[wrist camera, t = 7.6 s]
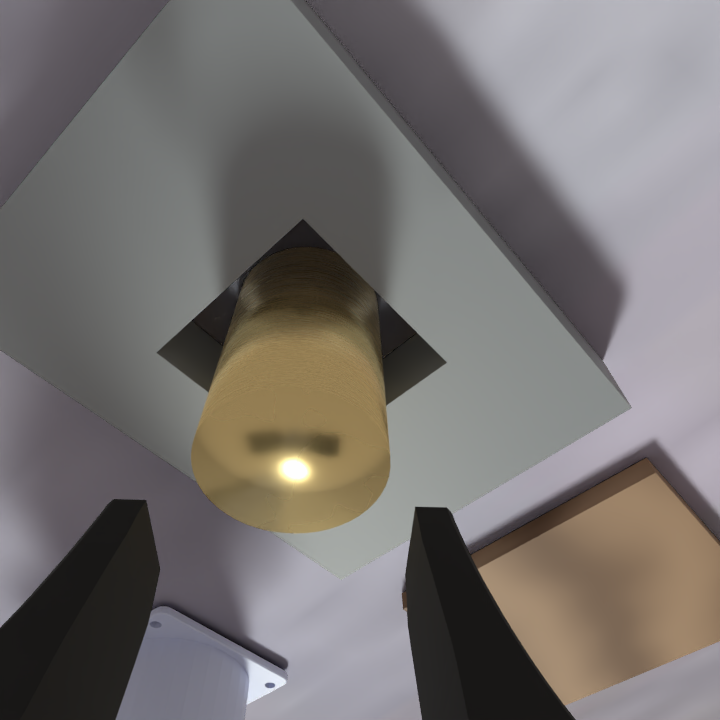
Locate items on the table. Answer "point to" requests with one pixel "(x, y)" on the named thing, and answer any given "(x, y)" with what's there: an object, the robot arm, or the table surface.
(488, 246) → the grey square socket plate
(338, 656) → the table surface
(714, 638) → the stand pad
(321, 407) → the brass peg
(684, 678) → the table surface
